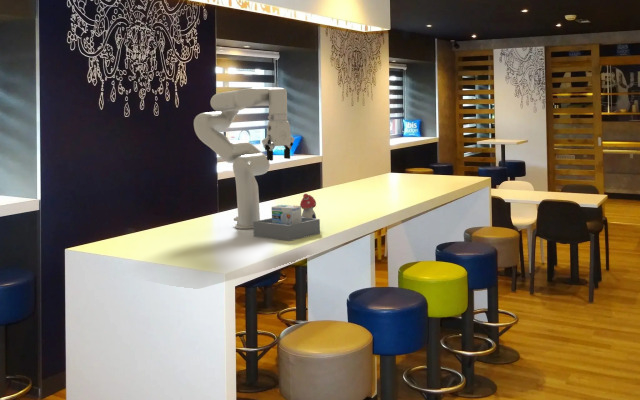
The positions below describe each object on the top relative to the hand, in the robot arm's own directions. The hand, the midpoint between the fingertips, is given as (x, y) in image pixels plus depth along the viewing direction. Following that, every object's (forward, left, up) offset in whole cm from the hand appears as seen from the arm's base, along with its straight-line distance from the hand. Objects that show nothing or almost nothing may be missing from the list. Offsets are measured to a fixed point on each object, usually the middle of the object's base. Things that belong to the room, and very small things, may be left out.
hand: (278, 159), depth 292 cm
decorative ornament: (+6, +11, -30) cm, 33 cm away
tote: (+10, -7, -30) cm, 33 cm away
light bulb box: (+10, -7, -29) cm, 32 cm away
